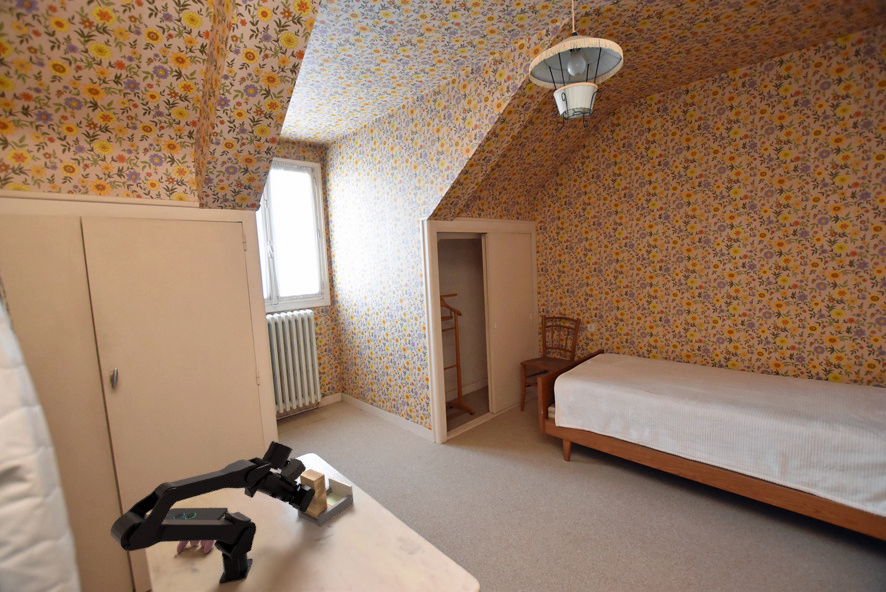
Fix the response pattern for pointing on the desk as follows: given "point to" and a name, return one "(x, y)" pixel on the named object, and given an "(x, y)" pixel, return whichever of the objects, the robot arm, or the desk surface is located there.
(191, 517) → the smart home device
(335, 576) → the desk surface
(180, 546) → the video game controller
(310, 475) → the oak slider
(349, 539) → the desk surface
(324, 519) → the rail box
